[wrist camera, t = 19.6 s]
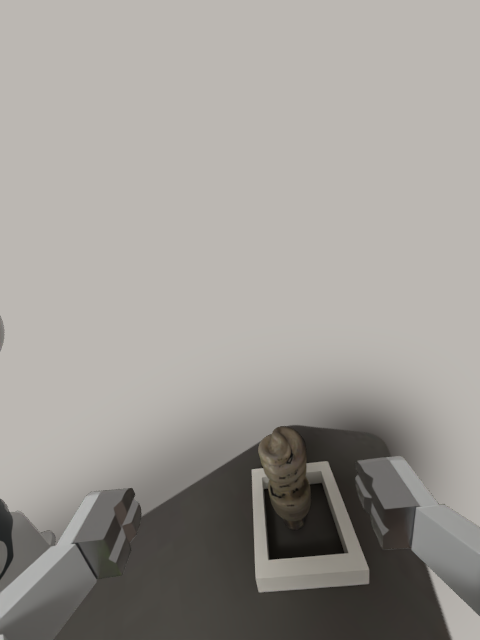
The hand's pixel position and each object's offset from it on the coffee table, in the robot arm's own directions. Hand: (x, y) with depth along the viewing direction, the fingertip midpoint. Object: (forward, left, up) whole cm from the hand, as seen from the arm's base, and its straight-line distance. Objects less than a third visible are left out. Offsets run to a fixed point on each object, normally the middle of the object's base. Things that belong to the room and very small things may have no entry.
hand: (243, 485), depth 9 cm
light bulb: (+2, +16, -29) cm, 33 cm away
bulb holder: (+3, +16, -29) cm, 33 cm away
